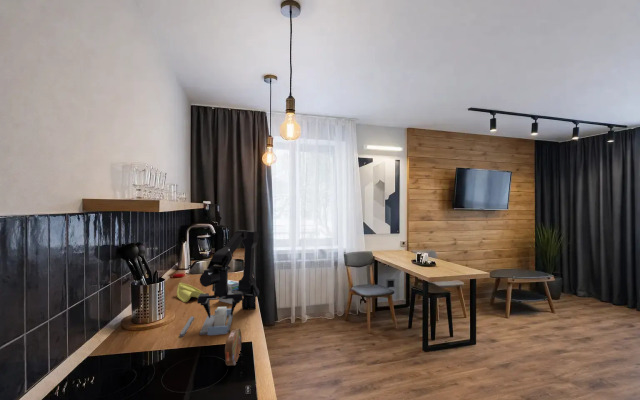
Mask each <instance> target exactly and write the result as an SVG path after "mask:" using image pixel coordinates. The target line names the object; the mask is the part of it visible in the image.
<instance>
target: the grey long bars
mask: <svg viewBox="0 0 640 400" xmlns="http://www.w3.org/2000/svg"><path fill="white" fill-rule="evenodd" d="M214 315H215V314H210V318H209V317H208V315H207V316H206V318H205V320H204V322H203V324H202V326H201V329H200V331H199V336H203V335H204V336H205V335H208V327H212V326H214ZM233 317H234V313H233V314H232V316H231V314H230V315H229V316H228V318H227V321H226V325H227V334H228V333H229V334H230V332H231V331H230V329H231V326H232V321H233ZM194 319H195V316H190V317H189V319H188V321H187V322H186V324H185V325H184V327H183V328H182V329H181V331H180V333H179V338H183V337H185V335H186V333H187V332H188V330H189V328H190V326H191V325H192V323H193V321H194Z"/></svg>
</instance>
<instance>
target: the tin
mask: <svg viewBox="0 0 640 400" xmlns="http://www.w3.org/2000/svg"><path fill="white" fill-rule="evenodd" d="M224 345H225V346H224V357H225V365H226V366H236V365H237V363H236V362H238V360H239V358H240V355H241V352H240V351H242V332H241V329H240V328H236V329H232V330H231V331H230V332H229V335H228V337H227V339H226V341H225V344H224ZM239 354H240V355H239Z"/></svg>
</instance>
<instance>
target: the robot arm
mask: <svg viewBox="0 0 640 400" xmlns="http://www.w3.org/2000/svg"><path fill="white" fill-rule="evenodd" d="M259 238H260V234H259V233H258V231H256V230H245V229H244V230H243V229H238V230H236V231H235V232H234V234H233V236H232V237H230V239H229V240H228V241H227V243H226V244H225V245H224V247H222V248H221V249H218V250H217V251H215V253H213V254H212V257H211V259H210V261H209V264H208V265H207V267H206V269H204V270H203V273H202V274H201V275H200V277H199V283H200V284H201V286H202V287H204V288H205V287H206V288H207V287H210V286H212V288H211V291H212V292H213V295H212V294H211V295H210V294H209V292H208V293H205V292H204V293H205V294H200V295H199V296H198V298H197V300H196V302H197V304H200V306H203V308H204V310H205V311H206V313H207V316H208V317H209V318H210V315H211V306H210V304H211V303H210V301H214V300H216V301H219V299H233V301H232V304H231V308H230V309H231V316H232V314H233V315H234V310H235V308H236V305H237V304H240V302H241V308H242V310H243V311H244V310H245V311H247V310H256V309H257V304H256V303H257V299H256V298H257V297H259V296H260V290H259V288H258V287H257V281H256V279H255V277H254V267H255V266H254V263H255V248H256V246H257V245H258V243H259ZM240 244H242V245H243V247H244V254H243V256H244V257H243V270H242V271H243V273H242V274H243V275H242V277H241V279H239V280H238V282H239V287H238V288H239V291H238V292H234V293H233V294H228V280H229V279H228V278H229V276H228V275H229V274H228V273H229V270H231V266H229V265H230V263H231V261H232V260H233V254H234V252H235V251H236V250H237V249H238V247H239V246H240Z"/></svg>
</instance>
